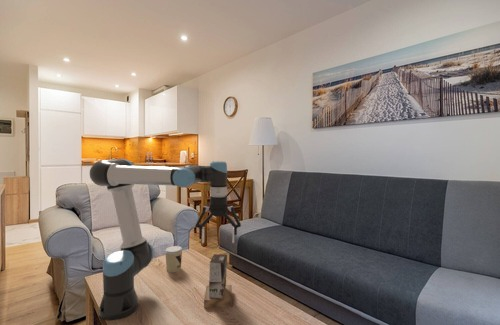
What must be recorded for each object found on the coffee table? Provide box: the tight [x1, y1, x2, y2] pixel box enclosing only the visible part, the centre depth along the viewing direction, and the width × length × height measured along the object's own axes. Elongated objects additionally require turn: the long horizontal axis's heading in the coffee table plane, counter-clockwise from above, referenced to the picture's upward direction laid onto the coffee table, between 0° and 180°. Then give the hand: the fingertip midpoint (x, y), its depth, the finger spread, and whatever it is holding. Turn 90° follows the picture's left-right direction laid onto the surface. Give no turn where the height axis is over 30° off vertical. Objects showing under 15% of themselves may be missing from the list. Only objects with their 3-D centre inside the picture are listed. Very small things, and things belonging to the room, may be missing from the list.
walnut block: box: [203, 284, 233, 309], centre depth 120 cm, size 12×12×4 cm
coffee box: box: [208, 253, 228, 298], centre depth 119 cm, size 9×6×16 cm
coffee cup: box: [164, 245, 183, 273], centre depth 149 cm, size 9×9×12 cm
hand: (218, 242), depth 119 cm, fingers open, 13 cm apart
